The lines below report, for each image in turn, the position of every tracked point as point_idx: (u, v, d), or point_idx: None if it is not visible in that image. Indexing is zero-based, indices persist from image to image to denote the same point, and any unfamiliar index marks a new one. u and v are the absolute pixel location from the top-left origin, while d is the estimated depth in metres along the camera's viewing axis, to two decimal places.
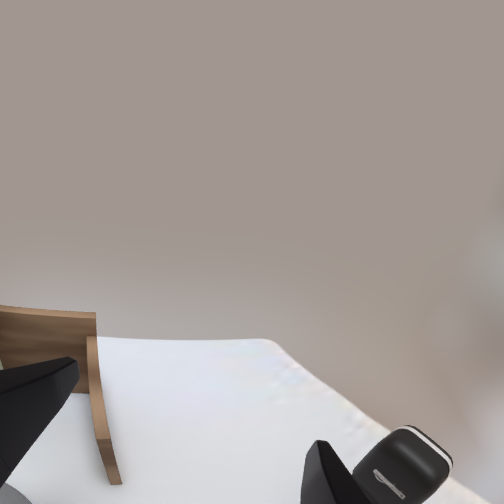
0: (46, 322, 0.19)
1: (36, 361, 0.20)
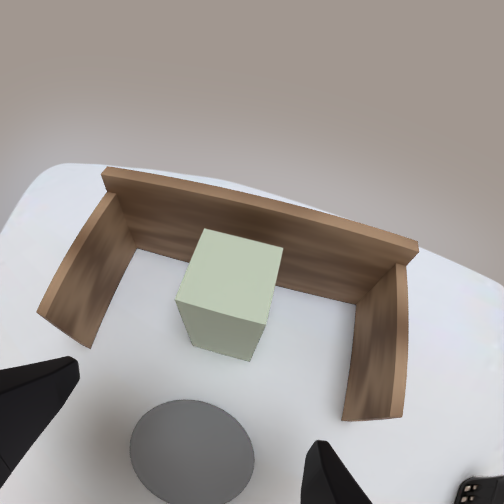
0: (357, 240, 0.19)
1: (313, 268, 0.23)
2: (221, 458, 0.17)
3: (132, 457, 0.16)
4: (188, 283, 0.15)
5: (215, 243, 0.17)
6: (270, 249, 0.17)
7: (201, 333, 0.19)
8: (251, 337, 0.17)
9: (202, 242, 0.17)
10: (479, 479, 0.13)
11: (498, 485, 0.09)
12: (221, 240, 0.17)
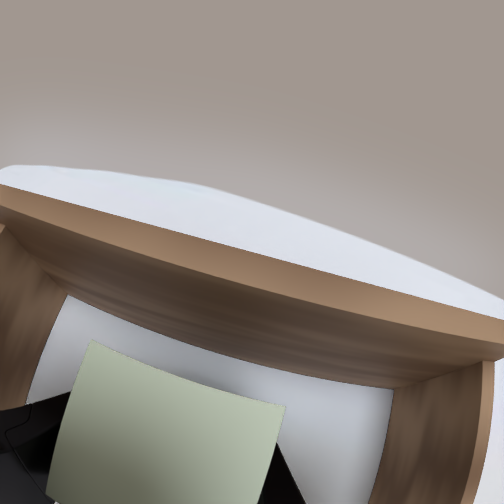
0: (440, 342, 0.07)
1: (339, 364, 0.12)
2: None
3: None
4: (62, 472, 0.04)
5: (111, 386, 0.05)
6: (252, 411, 0.06)
7: None
8: None
9: (84, 379, 0.05)
10: None
11: None
12: (125, 380, 0.06)
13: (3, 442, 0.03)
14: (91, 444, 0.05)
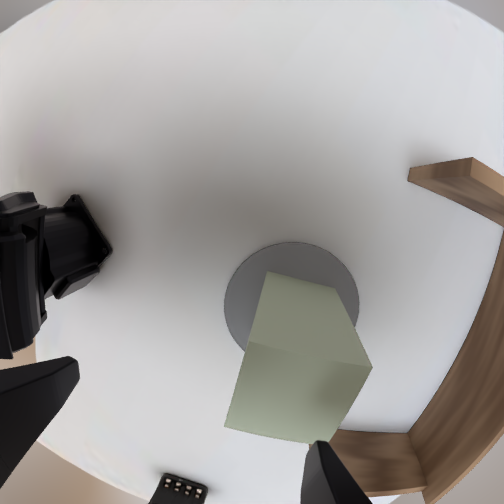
0: (457, 469, 0.12)
1: (452, 420, 0.16)
2: None
3: (283, 246, 0.19)
4: (276, 357, 0.10)
5: (343, 384, 0.10)
6: (326, 436, 0.11)
7: None
8: None
9: (347, 368, 0.10)
10: (204, 500, 0.25)
11: None
12: (347, 390, 0.10)
13: None
14: (304, 376, 0.10)
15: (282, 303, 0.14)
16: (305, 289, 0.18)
